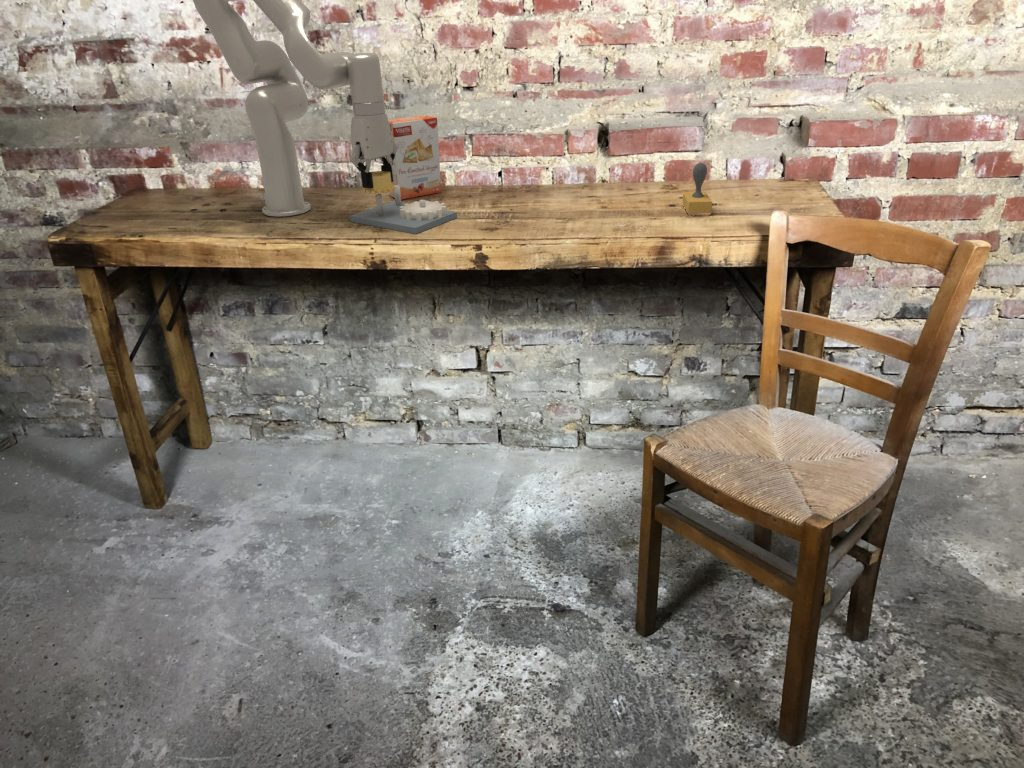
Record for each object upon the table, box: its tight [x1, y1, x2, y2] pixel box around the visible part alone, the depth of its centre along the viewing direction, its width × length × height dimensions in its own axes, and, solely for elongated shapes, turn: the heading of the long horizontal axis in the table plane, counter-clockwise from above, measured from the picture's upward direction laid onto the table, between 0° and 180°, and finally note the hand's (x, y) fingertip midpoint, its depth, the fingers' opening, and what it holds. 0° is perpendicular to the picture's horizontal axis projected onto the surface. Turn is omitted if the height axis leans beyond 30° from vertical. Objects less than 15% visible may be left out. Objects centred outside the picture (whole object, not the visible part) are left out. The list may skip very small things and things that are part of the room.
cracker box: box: [388, 114, 442, 201], centre depth 211 cm, size 14×6×21 cm, turn 126°
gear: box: [362, 170, 395, 195], centre depth 190 cm, size 8×8×4 cm
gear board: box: [349, 185, 458, 235], centre depth 192 cm, size 22×16×6 cm
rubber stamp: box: [682, 162, 713, 214], centre depth 191 cm, size 10×6×12 cm, turn 177°
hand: (378, 184), depth 190 cm, fingers closed on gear, 6 cm apart
